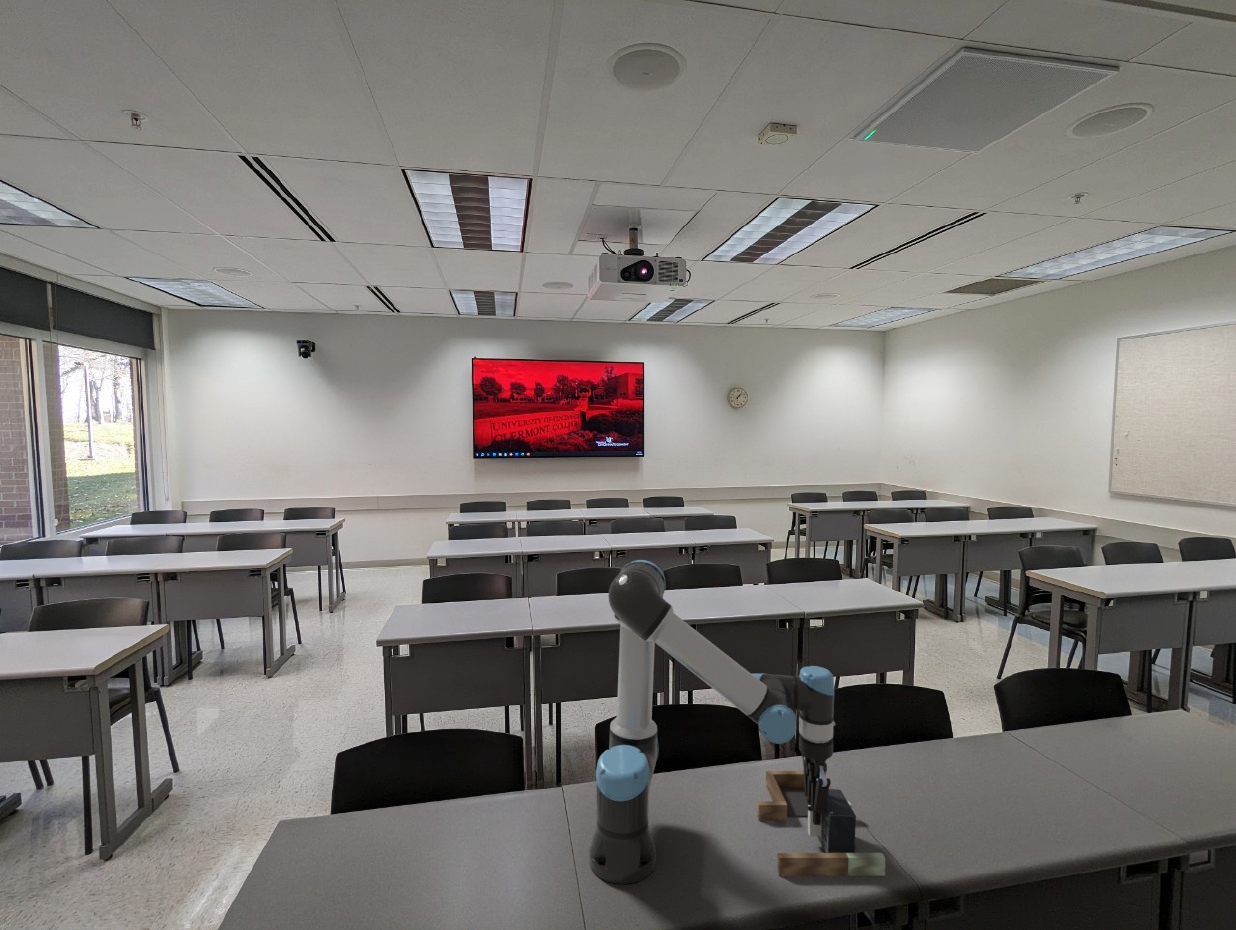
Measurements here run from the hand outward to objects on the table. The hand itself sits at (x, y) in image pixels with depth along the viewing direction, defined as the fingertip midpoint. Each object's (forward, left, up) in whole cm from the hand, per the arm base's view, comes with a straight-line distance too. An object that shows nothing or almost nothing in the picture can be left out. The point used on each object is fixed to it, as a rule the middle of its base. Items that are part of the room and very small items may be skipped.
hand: (814, 834), depth 139 cm
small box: (+5, 0, -3) cm, 5 cm away
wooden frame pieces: (0, +7, -2) cm, 7 cm away
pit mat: (+1, +16, -2) cm, 16 cm away
